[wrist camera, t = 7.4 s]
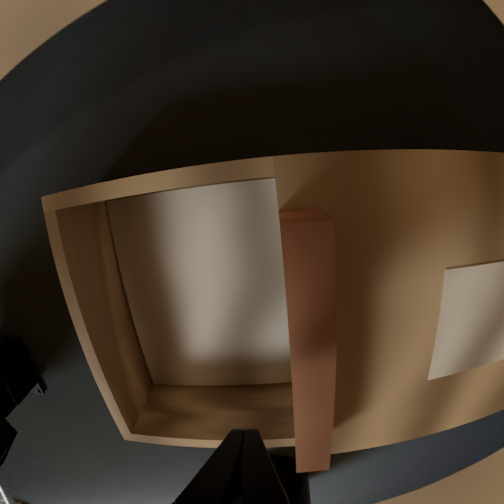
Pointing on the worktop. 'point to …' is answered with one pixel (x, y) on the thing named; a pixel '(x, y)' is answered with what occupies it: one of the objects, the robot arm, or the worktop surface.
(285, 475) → the supplement bottle
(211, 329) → the mailer box
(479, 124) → the worktop surface
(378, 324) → the mailer lid
